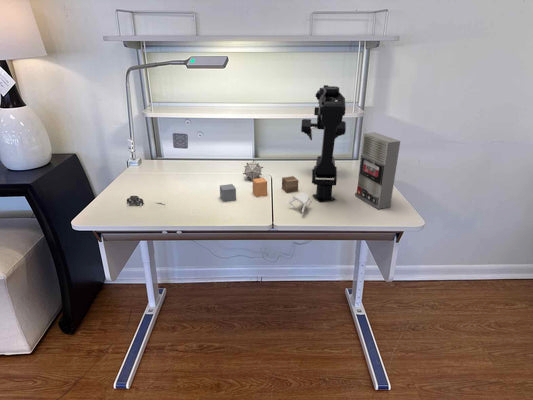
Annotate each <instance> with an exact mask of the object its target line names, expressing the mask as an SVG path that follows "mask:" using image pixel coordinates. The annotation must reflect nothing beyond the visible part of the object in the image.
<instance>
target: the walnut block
mask: <svg viewBox="0 0 533 400" xmlns="http://www.w3.org/2000/svg"><path fill="white" fill-rule="evenodd" d="M281 189H282V190H283V191H284V192H285V193H286V194H291V193H297V192H299V179H298V178H297V177H295V176H293V175H292V176H285V177H284V176H283V177H281Z"/></svg>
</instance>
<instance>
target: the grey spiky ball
mask: <svg viewBox="0 0 533 400" xmlns="http://www.w3.org/2000/svg"><path fill="white" fill-rule="evenodd" d="M244 168H245V169H244V172H243V173H242V175H246V177H247V178H249V179H250V180H251V182H253V179H257V178H260V176H262V175H263V174H262V169H263V168H264V166H261V165H260V164H259V163H257V162H255V159H253V160H252V161H251V162H249V163H248V162H246V166H244Z"/></svg>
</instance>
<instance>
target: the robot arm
mask: <svg viewBox="0 0 533 400" xmlns="http://www.w3.org/2000/svg"><path fill="white" fill-rule="evenodd" d="M314 97H315V98H316V100H318V102H317V103H318V106H314V116H316V122H315V123H312V119H309V118H303V119H302V120H301V127H300V128H301V129H300V132H301V133H303V134H305V135H307V136H308V138H309V140H311V141H312V140H313V131H312V130H323V134H322V145H321V155H318V156H317V157H316V162H315V165H314V167H313V169H312V170H311V171H312V173H311V184H313V186H316V189H315V191H316V193H315V194H312V197H313V198H314V199H316V200H317V202H320V203H322V202H330V201H335V200H336V199H335V197H334V196H332V194H333V186H335V187H336V186H337V180H338V178H337V177H338V176H337V175H338V174H337V173H338V171H337V170H338V169H337V166H336V161H335V158H334V156H333V155H334V149H335V141H336V139H337V138H338V137H339V136H340V137H341V136H345V135H346V128H347V127H346V123H347V122H346V121H345V120H343V117H344V116H345V115H346V98H345V96H344V95H343V94H342V93H341V92H340V87H338V86H330V85H328V84H327V85H326V84H325V85H323V87H319V90H317V91H316V93H315V96H314Z"/></svg>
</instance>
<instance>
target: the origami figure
mask: <svg viewBox="0 0 533 400" xmlns="http://www.w3.org/2000/svg"><path fill="white" fill-rule="evenodd" d="M294 201H298V202H299V203H301V204H302V205H303V207H302V209H301V214H300V216H301V217H302V216H303V215H304V214H305V209H306V208H305V207H306V205H307V204H308V205H307V209H310V208H309V207H310V205H311V203H312V201H313V200H312V199H311V198H310V196H309V195H308V194H306V193H305V192H304V191H301V192H300V193H299V194H297V195H294V196H292V199H290V200H289V201H288V202H287V203H288V204H289V205H291V206H292V207H291V208H290V209H291V210H294V209H296V206H295V205H294V204H293V202H294ZM309 201H310V202H309Z"/></svg>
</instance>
